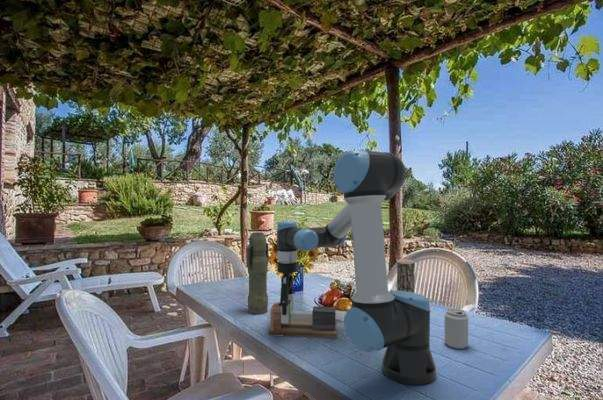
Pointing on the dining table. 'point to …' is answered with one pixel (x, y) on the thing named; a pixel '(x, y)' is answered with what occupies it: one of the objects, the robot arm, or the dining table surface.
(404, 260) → the bark textured post
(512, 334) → the dining table surface
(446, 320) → the can
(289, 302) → the pale green block
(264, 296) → the thermos
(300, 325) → the tube rig
